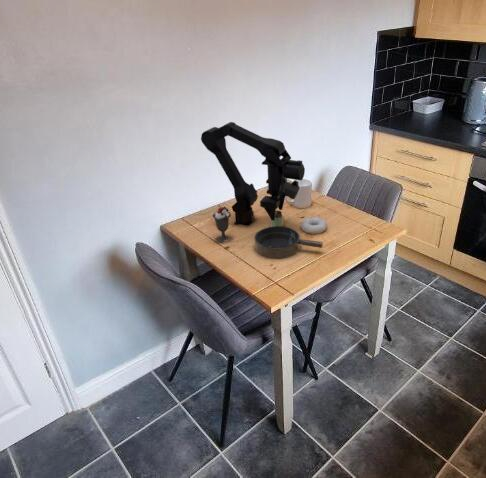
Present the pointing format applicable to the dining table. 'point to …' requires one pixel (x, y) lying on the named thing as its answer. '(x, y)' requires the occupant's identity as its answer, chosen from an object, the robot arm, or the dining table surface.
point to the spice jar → (277, 219)
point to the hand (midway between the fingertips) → (276, 214)
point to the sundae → (222, 222)
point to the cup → (302, 194)
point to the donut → (313, 225)
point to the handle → (311, 243)
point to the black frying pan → (277, 242)
